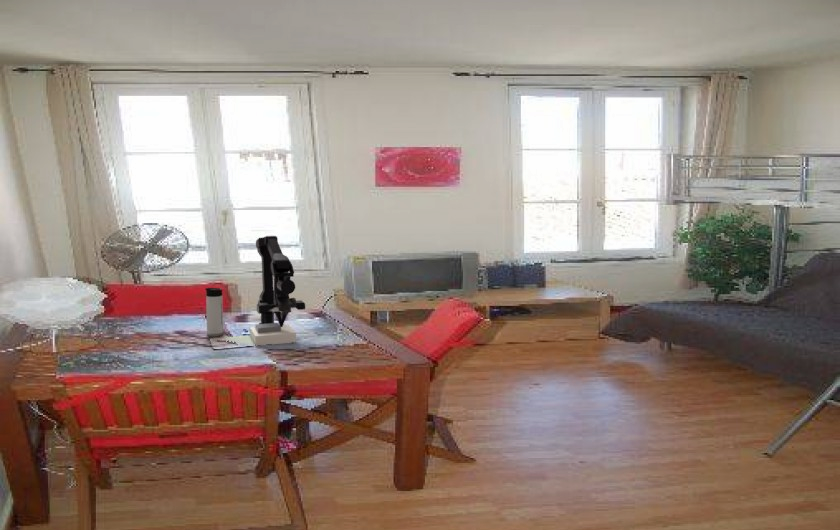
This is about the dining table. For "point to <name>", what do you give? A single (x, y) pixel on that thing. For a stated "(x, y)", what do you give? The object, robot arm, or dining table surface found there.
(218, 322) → the travel mug
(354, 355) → the dining table surface
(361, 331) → the dining table surface
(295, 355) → the dining table surface
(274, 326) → the grey rectangular block
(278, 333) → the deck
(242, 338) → the mat
